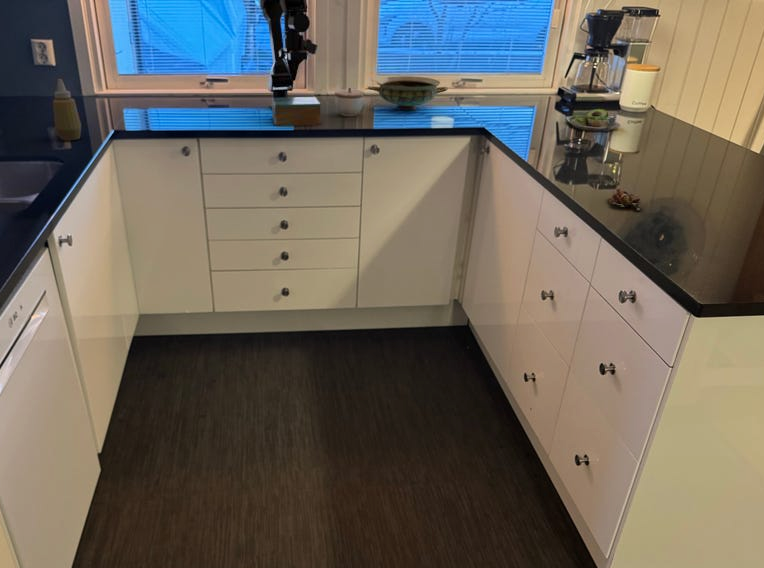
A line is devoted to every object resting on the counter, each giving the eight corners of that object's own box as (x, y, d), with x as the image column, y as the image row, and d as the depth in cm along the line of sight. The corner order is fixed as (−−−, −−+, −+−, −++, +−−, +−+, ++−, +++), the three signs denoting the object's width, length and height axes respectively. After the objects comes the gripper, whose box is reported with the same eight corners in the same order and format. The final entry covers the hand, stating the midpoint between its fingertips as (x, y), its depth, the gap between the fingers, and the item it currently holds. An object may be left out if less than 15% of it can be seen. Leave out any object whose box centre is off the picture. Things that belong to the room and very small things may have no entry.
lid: (320, 106, 237) (320, 103, 236) (275, 107, 235) (275, 104, 234) (315, 99, 247) (315, 96, 247) (271, 100, 245) (271, 97, 245)
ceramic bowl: (443, 103, 274) (446, 76, 269) (447, 116, 254) (450, 87, 248) (368, 101, 276) (369, 74, 271) (366, 114, 256) (367, 85, 251)
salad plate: (631, 133, 233) (635, 119, 231) (579, 133, 232) (582, 119, 230) (609, 120, 249) (612, 107, 247) (560, 120, 249) (563, 107, 246)
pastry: (635, 196, 176) (639, 182, 174) (640, 212, 166) (644, 197, 164) (606, 194, 177) (609, 180, 175) (609, 209, 168) (613, 194, 166)
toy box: (320, 124, 241) (320, 106, 237) (275, 126, 239) (275, 107, 235) (315, 117, 251) (315, 99, 247) (272, 118, 249) (271, 100, 245)
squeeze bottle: (59, 143, 216) (48, 82, 207) (55, 137, 223) (44, 78, 213) (85, 140, 220) (75, 80, 210) (80, 134, 226) (70, 76, 216)
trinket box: (364, 111, 259) (365, 85, 254) (362, 118, 250) (363, 90, 245) (335, 110, 260) (336, 84, 255) (333, 117, 251) (334, 90, 246)
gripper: (322, 32, 229) (322, 82, 236) (308, 30, 245) (309, 77, 252) (290, 32, 227) (291, 83, 234) (278, 30, 243) (279, 78, 250)
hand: (293, 80), depth 243 cm, fingers closed
